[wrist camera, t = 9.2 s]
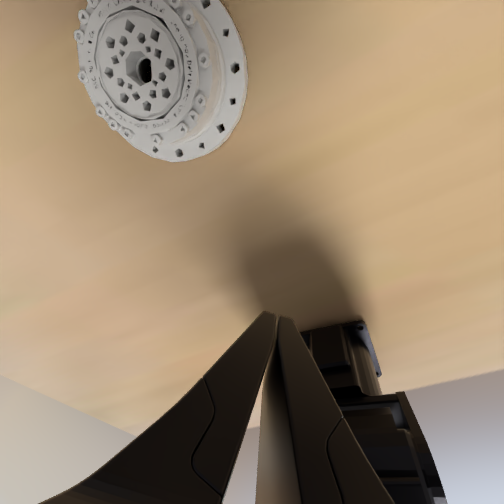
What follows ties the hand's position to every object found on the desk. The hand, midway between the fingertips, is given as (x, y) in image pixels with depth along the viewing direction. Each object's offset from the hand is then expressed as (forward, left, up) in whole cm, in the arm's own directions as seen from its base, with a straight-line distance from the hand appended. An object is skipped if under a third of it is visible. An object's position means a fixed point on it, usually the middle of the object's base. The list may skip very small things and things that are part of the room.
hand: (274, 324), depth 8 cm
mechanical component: (+11, +4, -13) cm, 18 cm away
